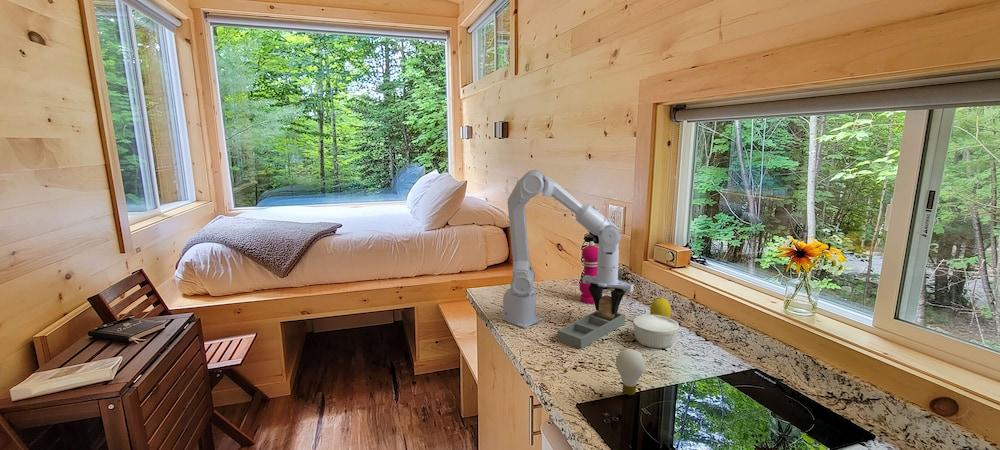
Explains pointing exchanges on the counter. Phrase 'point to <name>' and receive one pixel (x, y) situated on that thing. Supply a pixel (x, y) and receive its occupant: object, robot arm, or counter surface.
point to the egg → (606, 308)
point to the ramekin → (655, 330)
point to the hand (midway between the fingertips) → (606, 311)
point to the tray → (589, 329)
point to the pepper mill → (589, 270)
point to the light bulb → (630, 369)
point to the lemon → (660, 307)
